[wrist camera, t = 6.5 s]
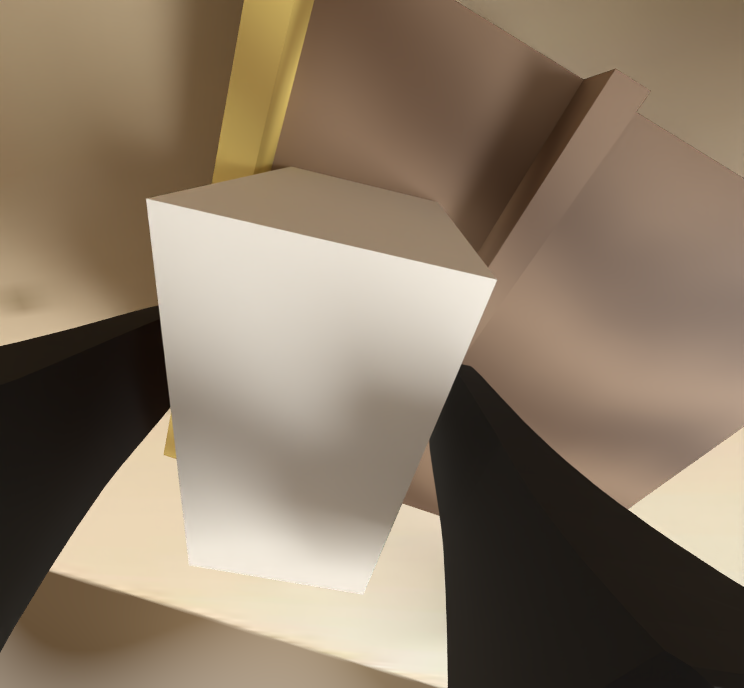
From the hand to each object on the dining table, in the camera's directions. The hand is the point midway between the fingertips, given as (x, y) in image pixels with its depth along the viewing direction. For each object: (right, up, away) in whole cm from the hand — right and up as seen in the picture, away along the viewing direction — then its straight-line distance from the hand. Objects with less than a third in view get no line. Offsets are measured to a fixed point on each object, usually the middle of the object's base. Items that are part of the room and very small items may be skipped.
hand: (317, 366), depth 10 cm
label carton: (0, +2, +3) cm, 4 cm away
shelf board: (+6, 0, +5) cm, 8 cm away
